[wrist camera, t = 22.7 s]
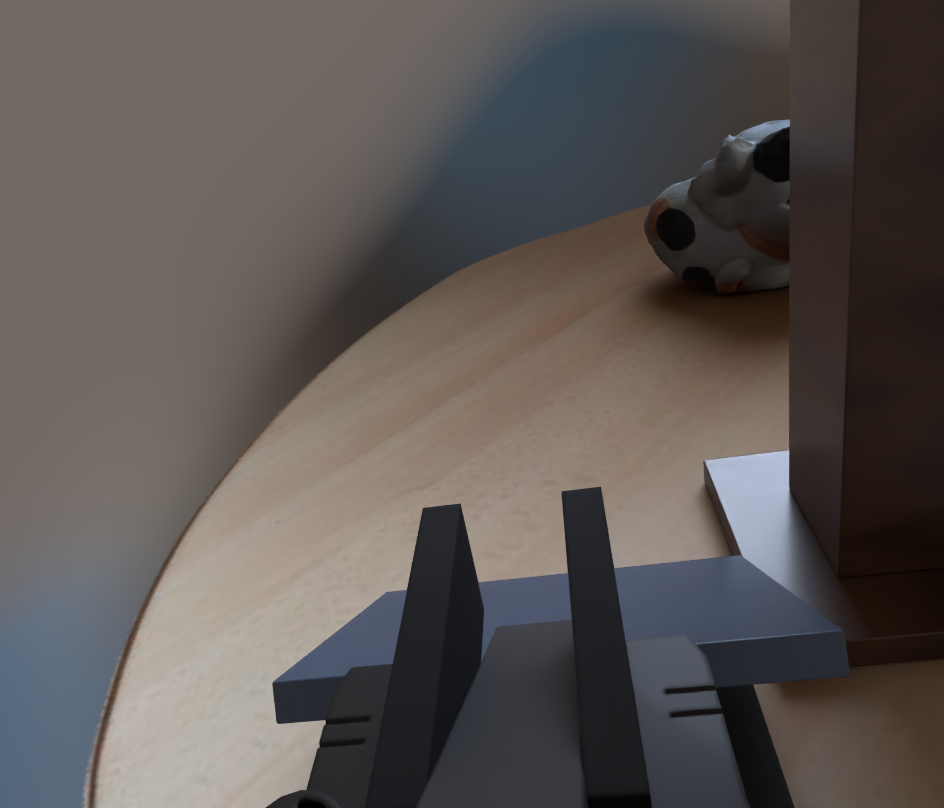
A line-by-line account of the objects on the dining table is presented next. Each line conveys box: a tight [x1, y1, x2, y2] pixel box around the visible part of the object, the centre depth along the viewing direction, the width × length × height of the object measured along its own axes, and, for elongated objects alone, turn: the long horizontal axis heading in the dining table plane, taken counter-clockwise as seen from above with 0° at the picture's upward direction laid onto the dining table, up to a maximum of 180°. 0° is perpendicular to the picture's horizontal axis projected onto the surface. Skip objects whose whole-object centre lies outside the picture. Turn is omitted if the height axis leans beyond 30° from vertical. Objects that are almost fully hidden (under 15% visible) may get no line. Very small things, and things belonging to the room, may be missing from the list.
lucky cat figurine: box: [644, 119, 790, 295], centre depth 57 cm, size 15×12×14 cm
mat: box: [715, 685, 794, 808], centre depth 26 cm, size 12×12×1 cm
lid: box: [273, 555, 850, 808], centre depth 18 cm, size 13×21×2 cm
